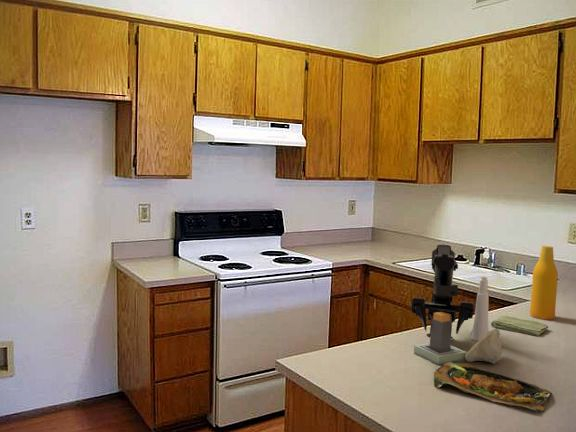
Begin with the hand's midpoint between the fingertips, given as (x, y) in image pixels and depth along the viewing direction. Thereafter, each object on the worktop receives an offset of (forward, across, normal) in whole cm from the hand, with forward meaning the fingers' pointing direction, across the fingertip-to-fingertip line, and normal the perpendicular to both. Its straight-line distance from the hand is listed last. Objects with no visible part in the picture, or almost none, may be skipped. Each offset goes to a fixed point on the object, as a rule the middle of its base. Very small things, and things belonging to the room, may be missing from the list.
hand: (441, 331), depth 163 cm
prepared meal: (+20, +13, -8) cm, 25 cm away
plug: (+4, 0, +6) cm, 8 cm away
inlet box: (+5, 0, +7) cm, 8 cm away
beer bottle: (-41, +40, +53) cm, 78 cm away
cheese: (+3, +13, +10) cm, 17 cm away
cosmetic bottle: (-12, +14, +24) cm, 30 cm away
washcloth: (-25, +29, +38) cm, 54 cm away
